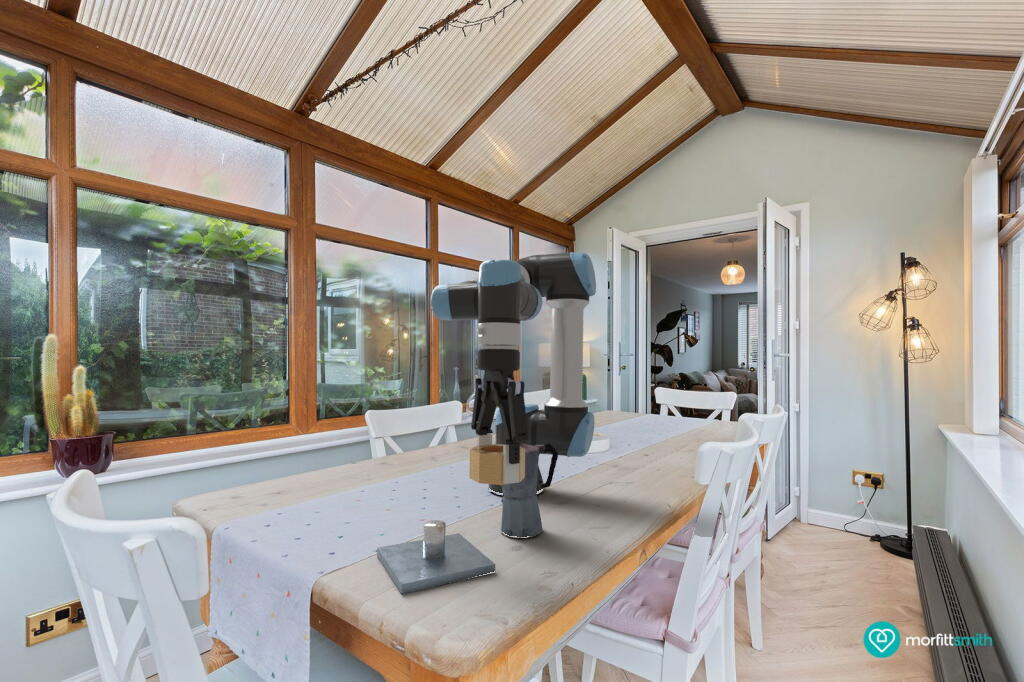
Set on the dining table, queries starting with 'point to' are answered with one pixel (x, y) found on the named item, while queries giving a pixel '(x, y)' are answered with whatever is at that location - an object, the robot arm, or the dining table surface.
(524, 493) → the moka pot
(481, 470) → the ring
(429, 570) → the peg base plate
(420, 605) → the dining table surface
